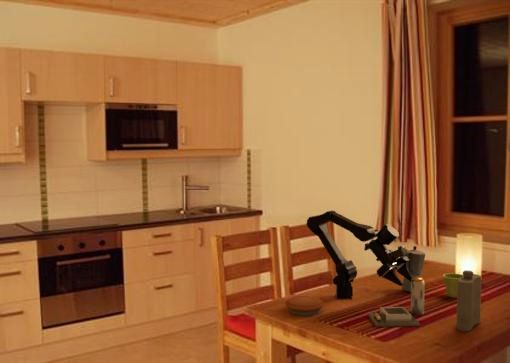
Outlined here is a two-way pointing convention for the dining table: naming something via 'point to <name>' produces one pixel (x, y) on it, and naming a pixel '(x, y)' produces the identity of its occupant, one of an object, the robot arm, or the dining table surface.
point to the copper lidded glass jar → (417, 295)
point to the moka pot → (413, 266)
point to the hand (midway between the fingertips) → (407, 283)
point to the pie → (304, 305)
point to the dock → (393, 317)
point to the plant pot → (451, 284)
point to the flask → (468, 301)
